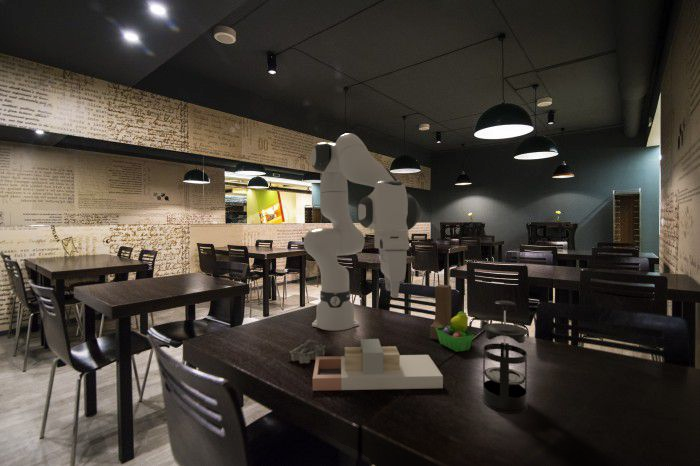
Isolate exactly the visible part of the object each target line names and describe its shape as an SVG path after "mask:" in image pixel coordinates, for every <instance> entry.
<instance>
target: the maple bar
mask: <svg viewBox="0 0 700 466" xmlns="http://www.w3.org/2000/svg"><path fill="white" fill-rule="evenodd" d="M381 348H382V350H383V370H400V355H401V354H400V352H399V350H398V348H397V346H390V345H389V346H381ZM344 356H345V371H363V352H362V347H361V346H345V347H344Z"/></svg>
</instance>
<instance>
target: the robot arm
mask: <svg viewBox="0 0 700 466" xmlns="http://www.w3.org/2000/svg"><path fill="white" fill-rule="evenodd" d="M310 162H311V165H312V166H311V167H312V168H313V169H314V170H315V171H318V172H321V177H320V186H319V187H320V188H319V191H320V192H319V193H320V194H319V195H320V198H319V199H320V207H319V208H320V213H321V214H322V216H323V217H325V218H326V219H328V220H329V221H330V222H331V224H332V227H331V228H330V227H329V228H326V227H324V228H322V227H321V228H315V229H311V230H309V231H307V232H306V233H305V236H304V239H303V247H304V248H303V249H304V250H305V252H306V253H307V254H308V255H310V257H312V259H314V261H315V262H316V263H317V266H318V268H319V271H320V281H321V282H320V284H321V285H320V287H321V290H320V293H319V296H320V302H319V303H317V305H316V308H315V309H316V314H315V315H316V318H315V320H314V321H313V322H312V323H311V327H313V328H314V327H315V328H318V329H321V330H324V331H345V330H348V329H351V328H355V327H359V326H360V322H359V321H358V320H357V319H356V318H355V305H354V304H353V303H352V301H351V290H350V273H349V270H348V269H347V268H346V266H343V265H342V264H339V261H338V256H350V255H354V254H358V253H361V252H362V251H363V249H364V247H365V243H366V241H365V236H364V234H363V232H362V231H361V230H360V229H359V228H357V226H356V225H355V223H354V222H353V220H352V217H351V215H350V209H349V189H348V187H349V186H348V181H349V182H351V183H353V184H359V185H363V186H368V187H371V188H372V187H373V188H374V189H373V191H372V192H371V193H369V194H368V195H367V196H364V197H363V198H361V200H359V202H358V203H357V206H356V213H357V214H356V217H357V221H358V223H359V224H360V225H361V226H362V227H363V228H365V229H368V230H369V229H370V230H374V231H373V233H374V234H373V235H374V236H373V237H374V242H373V243H374V249H378V250H379V252H378V253H379V255H380V272H381V273H382V274H383V275H384V281H385V290H386V291H387V292H390V297H392V298H393V299H396V298H399V293H400V292H399V290H400V285H401V283H400V282H404V281H405V279H406V275H407V274H406V272H407V258H408V255H407V252H408V250H409V249H410V241H409V231H410V230H411V229H413V228H414V227H415V226H416V224H417V223H418V222H419V221H420V218H421V211H422V210H421V206H420V204H419V203H418V201H417V199H416V198H414V196H412V195H411V194H410V193H409V192H407V189H406V186H405V183H403V182H402V181H400V180H398V179H397V178H396V176H395V175H394V174H393V173H392V172H391V170H389V169H388V167H386V166H385V165H383V164H382V163H381V162H379V161H378V160H377V159H376V158H375V157H374V156H372V154H371V153H370V152H369V150H368V148H367V146H366V145H365V143H364V142H363V140H361V138H359V136H357V135H356V134H355V133H344V134H342V135H340V136H339V137H338V138H337V139H336V141H335V142H326V141H325V142H323V141H322V142H318V143H315V144H314V146H313V147H312V149H311V153H310Z"/></svg>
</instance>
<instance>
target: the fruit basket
mask: <svg viewBox="0 0 700 466" xmlns="http://www.w3.org/2000/svg"><path fill="white" fill-rule="evenodd" d="M468 320H469V317H468V315H467V313H466V312H463V311H459V312H458V313H457V314H456V315H454V316H453V317H451V326H446V327H439V328H436V331H437V334H438V338H439V340H438V341H439V344H440V345H442V346H444V347H446V348H448V349H450V350H451V351H454V352H456V353H457V352H458V353H459V352H464V351H470V348H471V345H472V342H473V339H474V337H475V335H474V334H473V333H471V332H469V331H467V329H468V322H469V321H468Z"/></svg>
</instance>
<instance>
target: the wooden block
mask: <svg viewBox="0 0 700 466" xmlns="http://www.w3.org/2000/svg"><path fill="white" fill-rule="evenodd" d="M434 292H435V293H434V294H435V295H434V296H435V300H434V301H435V302H434V303H435V305H434V306H435V310H434V312H435V313H434V320H433V323H432V324H431V325H429V326H430V327H429V339H432V340H436V341H439V338H438V334H437V331H436V328H439V327H446V326H452V323H451V319H452V285H448V284H447V285H446V284H438V285H436V286H435V288H434Z"/></svg>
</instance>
